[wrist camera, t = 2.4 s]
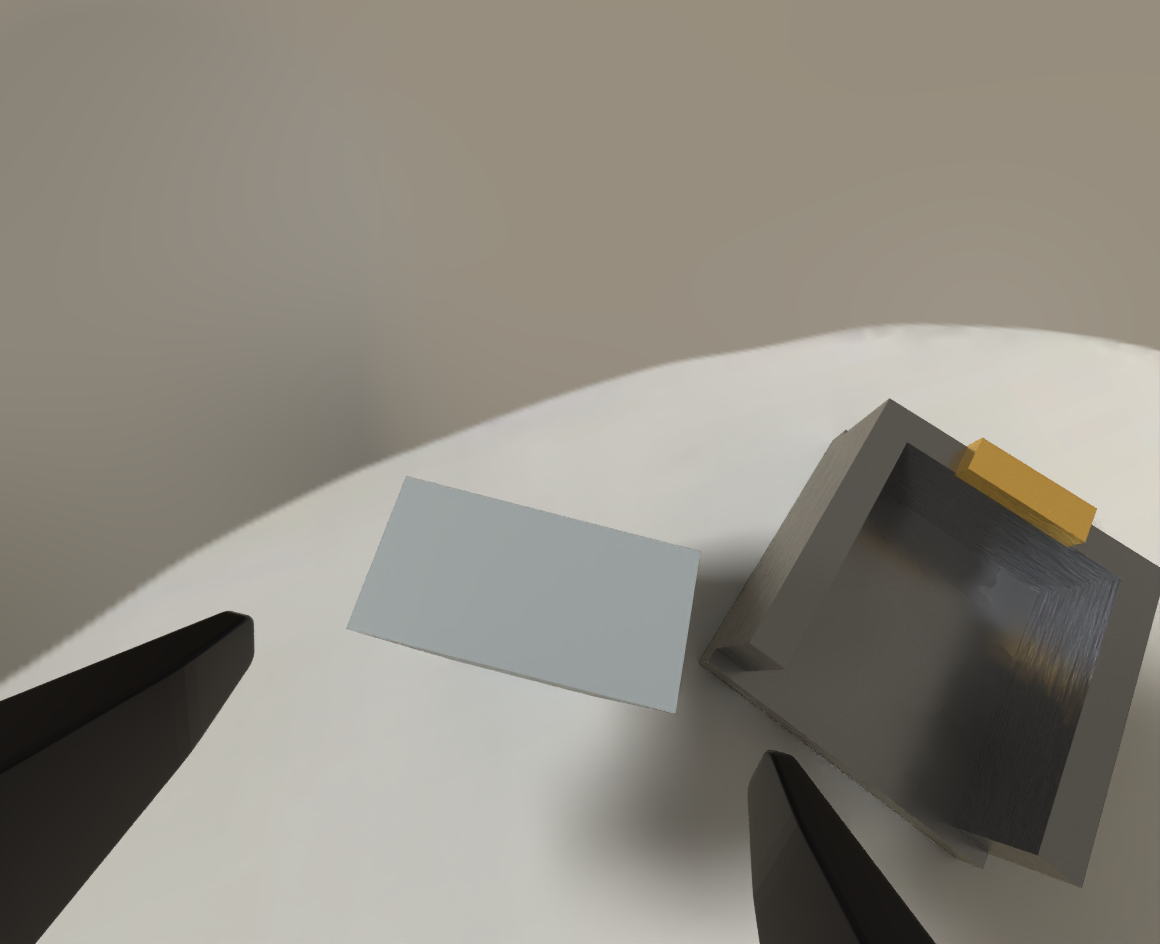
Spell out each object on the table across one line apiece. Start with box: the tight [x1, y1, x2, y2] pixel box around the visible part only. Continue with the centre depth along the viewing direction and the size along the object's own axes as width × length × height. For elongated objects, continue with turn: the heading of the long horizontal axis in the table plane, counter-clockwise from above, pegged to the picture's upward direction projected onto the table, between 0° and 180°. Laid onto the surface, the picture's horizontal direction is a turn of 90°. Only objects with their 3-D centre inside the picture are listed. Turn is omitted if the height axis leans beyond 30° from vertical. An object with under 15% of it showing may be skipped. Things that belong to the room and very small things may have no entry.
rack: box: [699, 398, 1160, 888], centre depth 18 cm, size 11×10×5 cm
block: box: [346, 476, 700, 714], centre depth 13 cm, size 2×5×11 cm, turn 77°
